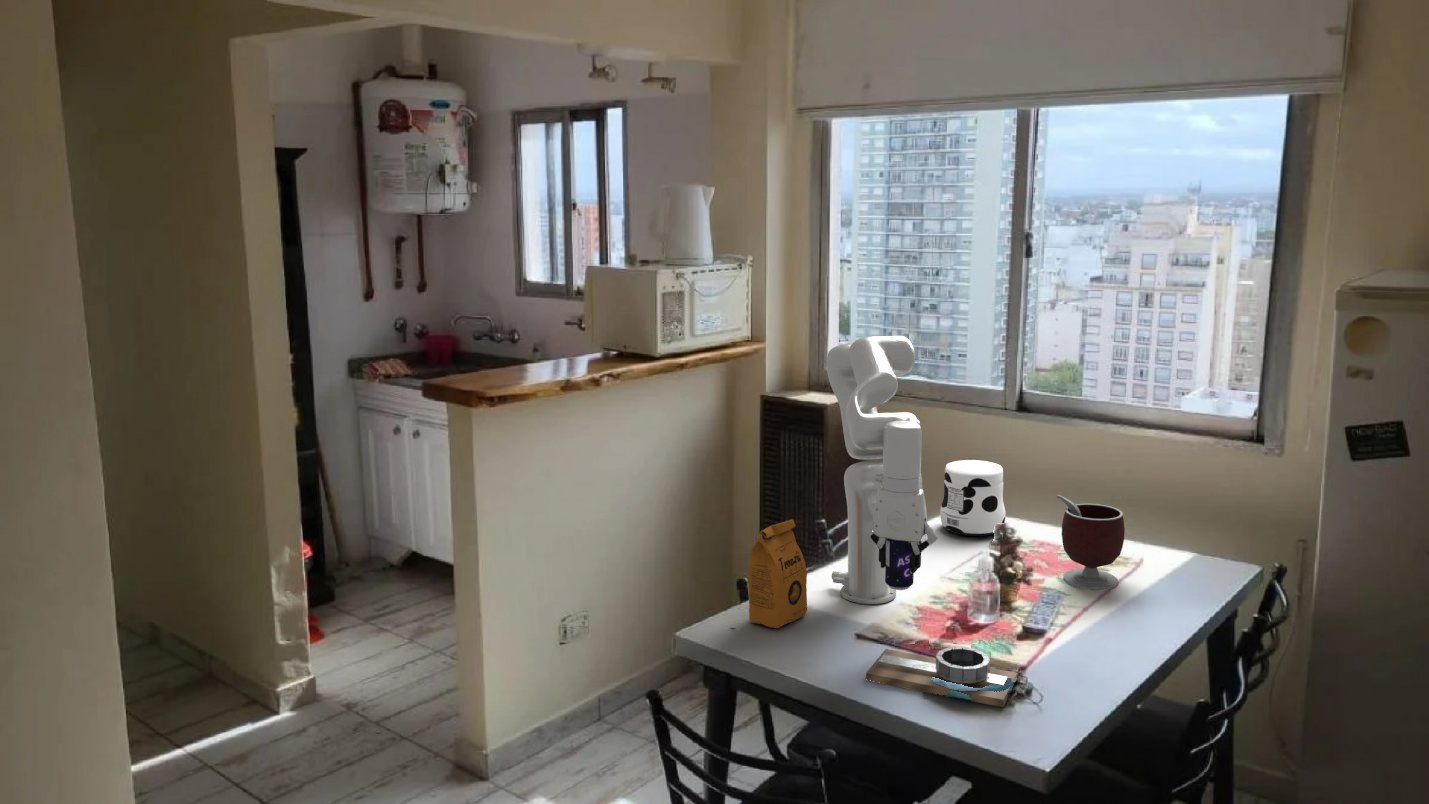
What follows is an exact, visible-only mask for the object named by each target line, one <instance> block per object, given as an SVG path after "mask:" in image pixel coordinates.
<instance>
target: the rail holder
mask: <svg viewBox="0 0 1429 804" xmlns="http://www.w3.org/2000/svg"><path fill="white" fill-rule="evenodd" d="M935 658H936V664H934V663H928V662H923V661H917V660H912V659H906V658H901V657H896V656H890V655H885V654H884V655H883V656H882V657H881V658H880V660H879V661H878V665H880V666H885V667H890V668H896V669H901V670H906V671H911V672H917V673H922V674H927V675H933V676H938V677H941V678H942V679H944V680H946V681H949V682H952V683H956V684H966V685H967V684H980V685H985V686H989V685H993V684H994V685H995V684H998V685H1000V686H1001V687H1004V684H1005V682H1006V680H1007V677H1004V676H999V675H993V674H989V672H990V668H991V659H990V657H989V656H988V655H987V653H985V652H983V651H981V650H980V649H977V648H972V647H966V646H948V647H946V648H943V649H940V650H938V652H937V653H936V655H935Z"/></svg>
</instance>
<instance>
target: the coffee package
mask: <svg viewBox="0 0 1429 804" xmlns="http://www.w3.org/2000/svg"><path fill="white" fill-rule="evenodd" d="M795 527H796V523H795V521H794V519H793V518H792V519H791V518H790V519H789V520H785V521H781V522H779V523H775V524H771V525H769V526H768V527H765V529H762V530H760V532H759V534H758V536H757V537H756V540H755V542H754V544H753V546H752V548H751V551H750V553H749V559H748V579H747V581H748V582H747V583H748V584H747V585H748V587H747V589H748V607H749V608H748V615H749V623H752V624H761V625H763V626H765V627H768V628H775V629H779V628H781V627H782V626H783V625H786V624H788V623H791V622H794V621H797V620H798V619H800V618H801V617H804V616H805V615H806V614H807V611H808V594H807V584H808V580H807V579H808V576H807V575H808V571H807V566H806V560H805V558H804V555H803V553H802V551H801V548H800V547H799V545H798V543H797V541H796V537H795V534H794V531H793V530H792V529H795Z"/></svg>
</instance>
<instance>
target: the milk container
mask: <svg viewBox="0 0 1429 804" xmlns="http://www.w3.org/2000/svg"><path fill="white" fill-rule="evenodd" d="M943 489H944V490H943V499H942V502H941V506H940V509H939V510H940V511H939V516H940V522H941V525H942V526H943V527H944V528H945V530H947V531H949V532H951V533H953V534H954V533H955V534H958V535H962V536H970V537H974V536H975V537H983V536H991V535H993V530H994V526H995V524H997V523H1004V524H1005V522H1006V516H1007V515H1006V508H1005V504H1004V503H1005V502H1004V498H1003V495H1004V494H1003V493H1004V468H1003V466H1001V465H1000V464H998V463H995V462H992V461H991V462H990V461H987V460H978V459H977V460H976V459H971V460H970V459H964V460H963V459H962V460H955V461H952V462H948V463H946V465H945V468H944V481H943Z"/></svg>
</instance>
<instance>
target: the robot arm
mask: <svg viewBox="0 0 1429 804" xmlns="http://www.w3.org/2000/svg"><path fill="white" fill-rule="evenodd" d="M915 353H916V352H915V349H914V346H913V343H912V342H911V340H910V339H909V338H908V337H906V336H903V335H880V336H879V335H878V336H877V335H876V336H873V335H872V336H864V337H861V338H857V339H856V340H854V342H852V343H844V344H840V345H839V344H838V345H836V346H834V347H832V348H830V350H829V351H828V353H827V355H826V360H825V361H826V372H827V373H826V374H827V378H828V381H829V384H830V387H831V389H832V392H833V393H834V395H835V396H834V397H835V398H836V400H837V402H838V405H839V408H840V417H841V423H842V432H843V437H844V443H845V448H846V452H847V454H848V455H849V457H851V458H852V459H857V460H872V461H860V462H856V463H853V464H851V465H850V466H848V467H847V468H846V469H845V472H844V475H843V482H844V483H843V484H844V485H843V486H844V491H845V498H846V506H847V507H846V508H847V571H846V572H844V573H843V572H839V571H832V573H831V580H832V583H835V584H840V585H842V586H841V588H840V594H841V596H842V597H843V598H844V599H846V600H847V601H850V602H852V603H857V604H860V605H861V604H862V605H880V604H885V603H888V602H891V601H892V600H893V599H895V598H896V596H897V590H895V589H892V588H890V587H889V585H887V584H886V582H885V564H886V539H897V540H902V541H906V542H911V545H912V548H913V553H912V554H911V572H912V573H914V574H915V573H916V572H917V571H918V569H920V568H921V566H922V552H923V551H924V550H926V549H927V548H928V547H930V546H931V545H932V544H934V543H935V542H936V541H937V540H938V539H939V536H938V535H937V533H936V532H935V531H934V530H933V528H932V527H931V526H930V525H929V524H928V517H927V516H928V513H927V505H926V497H925V492H924V490H923V478H922V445H923V444H922V443H923V441H922V440H923V439H922V437H923V433H922V432H923V431H922V428H921V423H920V420H919V419H918V418H917V416H916V415H915V414H914V413H911V412H908V411H907V412H906V411H901V412H900V411H899V412H879V411H878V407H879V406H881V405H882V404H884V403H887V402H888V401H889V400H890V399H892V398H893V397H894V396H895V395H896V393H897V391H898V389H899V383H898V379H897V378H898V377H902V376H905V375H908V374H909V373H910V372H911V371H912V370H913V369H914V366H915V362H916V354H915ZM881 459H882V460H881ZM874 460H876V461H874ZM924 536H927V539H924V541H922V540H923V537H924Z"/></svg>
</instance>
